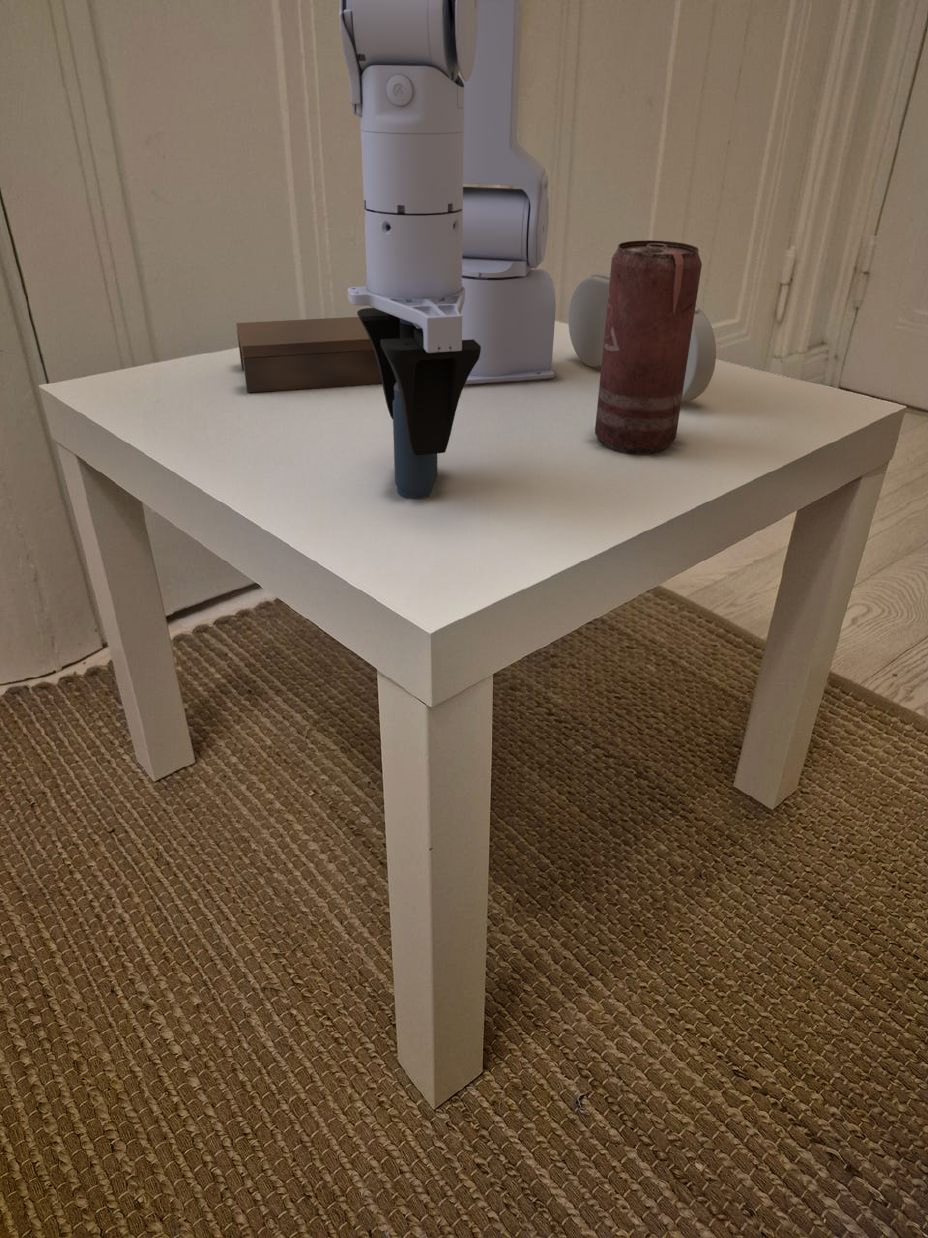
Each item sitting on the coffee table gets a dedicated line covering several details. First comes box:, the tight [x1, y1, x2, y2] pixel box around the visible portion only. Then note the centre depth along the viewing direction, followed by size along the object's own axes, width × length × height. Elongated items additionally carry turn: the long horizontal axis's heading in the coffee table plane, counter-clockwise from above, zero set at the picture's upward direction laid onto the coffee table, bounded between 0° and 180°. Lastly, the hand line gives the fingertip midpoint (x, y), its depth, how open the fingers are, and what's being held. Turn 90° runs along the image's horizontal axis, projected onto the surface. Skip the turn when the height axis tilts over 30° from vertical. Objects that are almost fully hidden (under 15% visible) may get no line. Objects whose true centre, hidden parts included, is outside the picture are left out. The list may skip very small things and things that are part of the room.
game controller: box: [568, 272, 717, 403], centre depth 79 cm, size 20×2×8 cm, turn 26°
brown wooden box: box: [235, 316, 382, 394], centre depth 80 cm, size 13×8×4 cm, turn 106°
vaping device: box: [392, 318, 438, 499], centre depth 57 cm, size 3×5×12 cm, turn 175°
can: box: [594, 239, 703, 455], centre depth 64 cm, size 6×6×14 cm
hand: (416, 433), depth 59 cm, fingers open, 6 cm apart
